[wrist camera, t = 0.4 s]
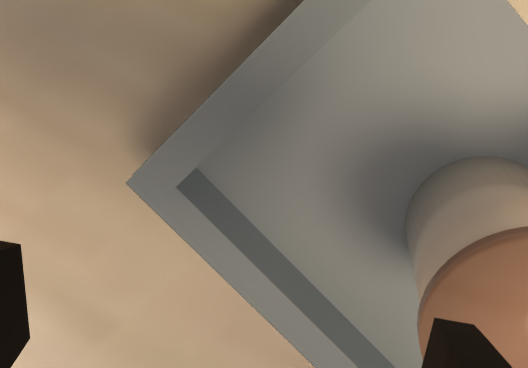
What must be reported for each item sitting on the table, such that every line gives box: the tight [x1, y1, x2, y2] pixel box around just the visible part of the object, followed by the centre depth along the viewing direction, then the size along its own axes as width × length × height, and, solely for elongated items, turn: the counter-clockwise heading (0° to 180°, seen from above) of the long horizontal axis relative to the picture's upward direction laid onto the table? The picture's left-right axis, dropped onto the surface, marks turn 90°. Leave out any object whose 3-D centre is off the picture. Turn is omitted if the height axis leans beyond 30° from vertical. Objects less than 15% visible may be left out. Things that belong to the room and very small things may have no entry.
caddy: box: [126, 0, 528, 368], centre depth 16 cm, size 18×13×3 cm
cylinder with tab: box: [405, 156, 528, 368], centre depth 14 cm, size 5×7×6 cm
